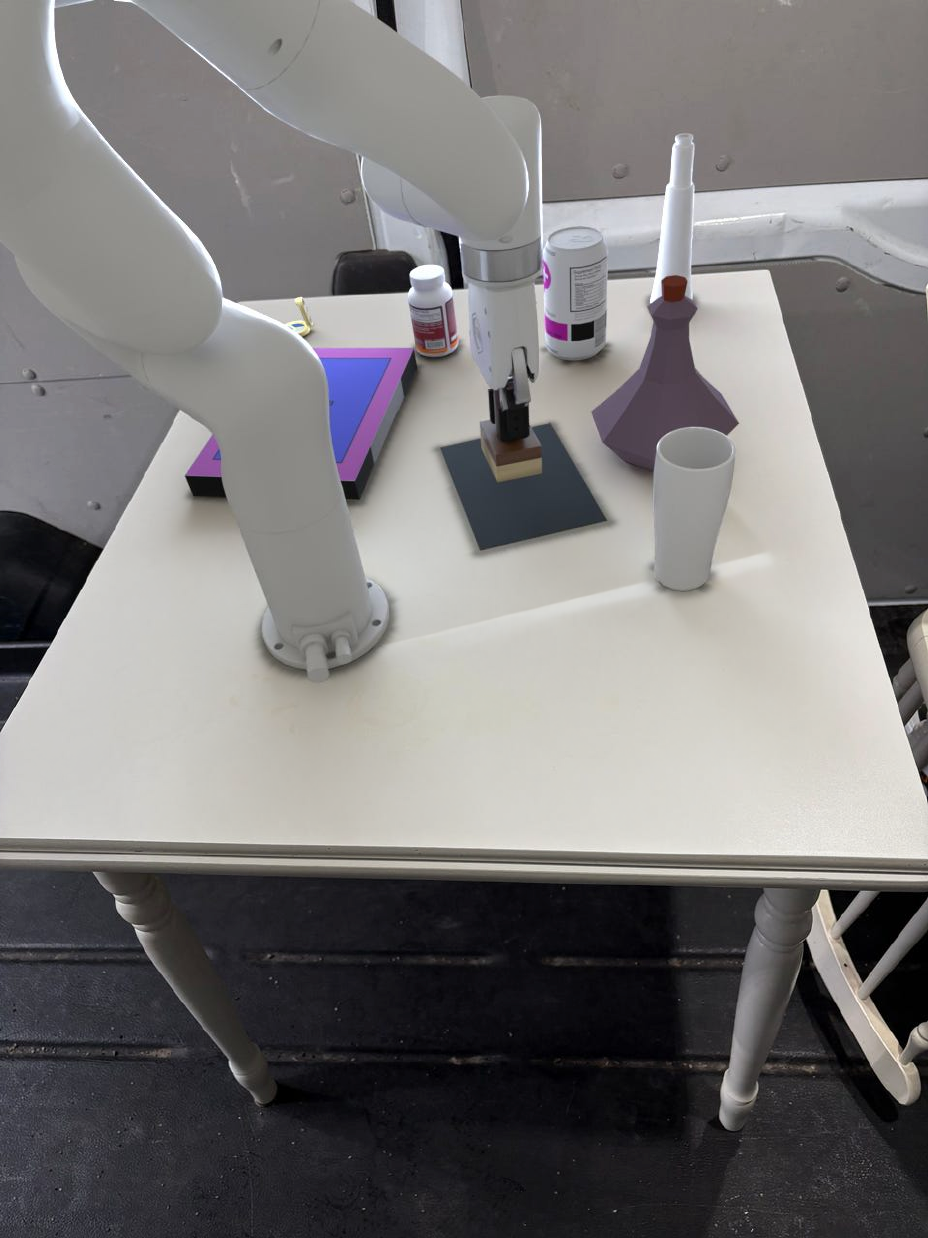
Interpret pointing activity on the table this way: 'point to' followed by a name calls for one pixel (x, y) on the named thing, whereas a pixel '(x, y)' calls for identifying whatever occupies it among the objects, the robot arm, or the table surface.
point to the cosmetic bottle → (677, 218)
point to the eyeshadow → (301, 326)
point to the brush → (509, 450)
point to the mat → (521, 494)
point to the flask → (662, 387)
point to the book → (340, 415)
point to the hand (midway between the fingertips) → (509, 428)
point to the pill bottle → (432, 312)
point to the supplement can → (575, 292)
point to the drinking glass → (689, 503)
